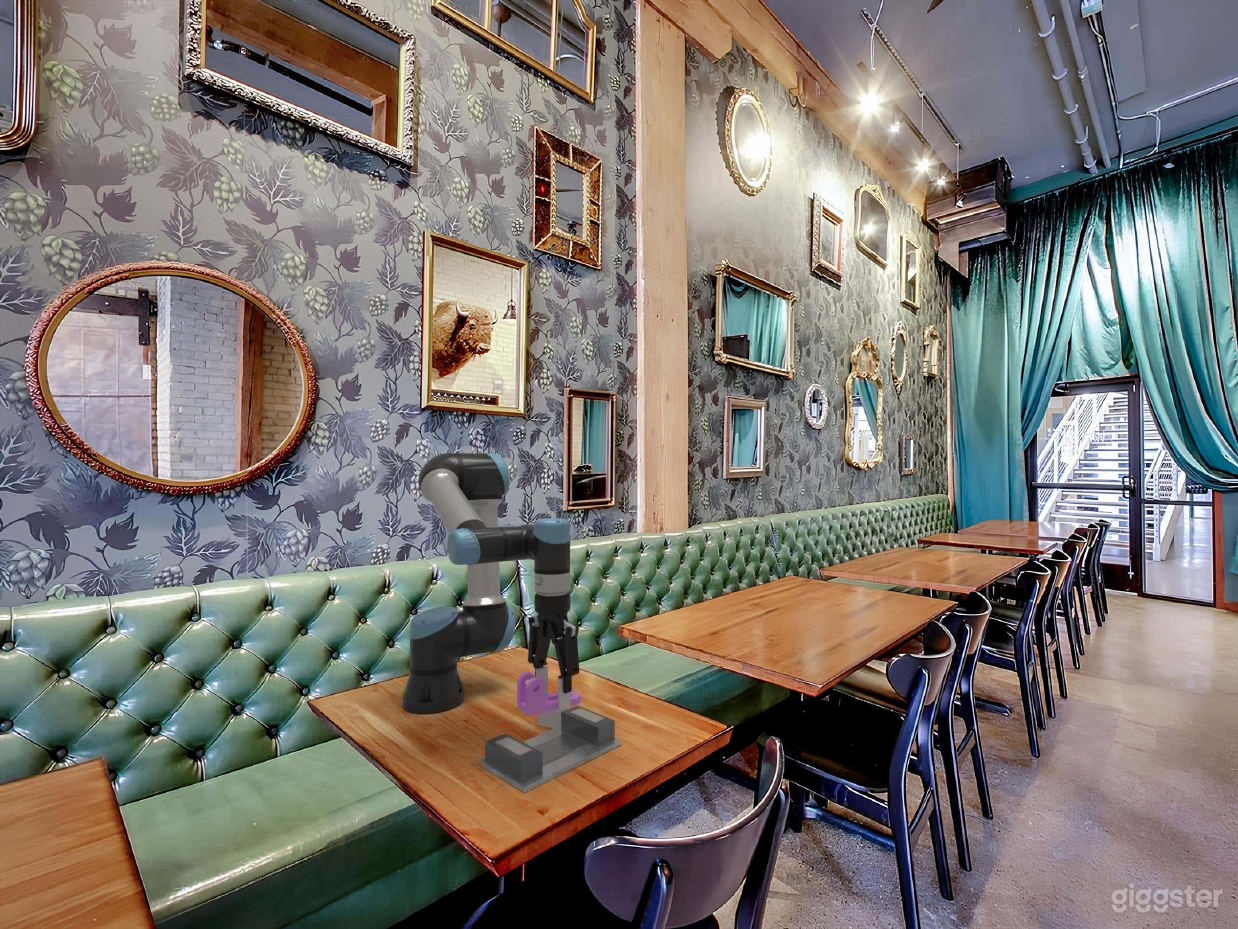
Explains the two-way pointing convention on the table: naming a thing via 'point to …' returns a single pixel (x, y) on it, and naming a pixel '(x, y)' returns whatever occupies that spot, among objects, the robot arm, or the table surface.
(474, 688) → the table surface
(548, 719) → the block
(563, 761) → the rail board
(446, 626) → the robot arm
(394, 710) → the table surface
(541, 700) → the bracket
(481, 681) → the table surface
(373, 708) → the table surface
